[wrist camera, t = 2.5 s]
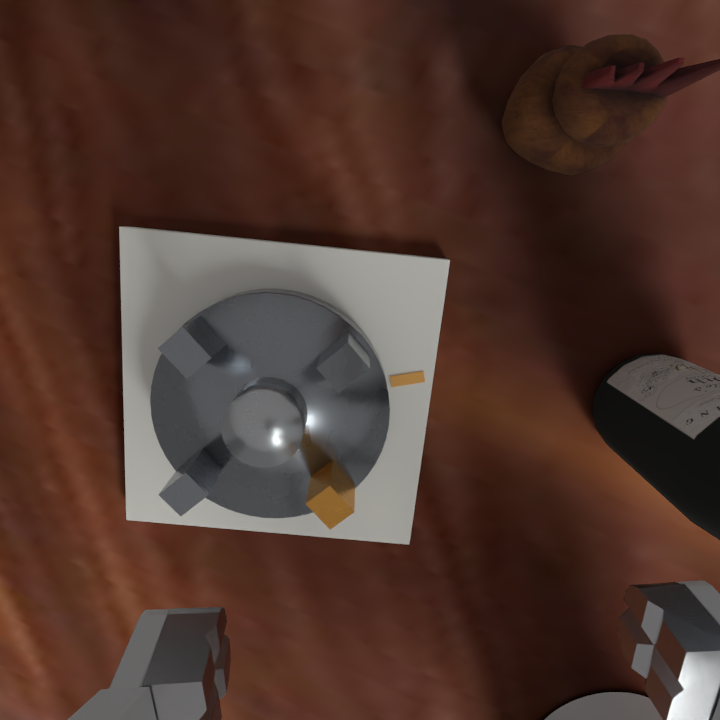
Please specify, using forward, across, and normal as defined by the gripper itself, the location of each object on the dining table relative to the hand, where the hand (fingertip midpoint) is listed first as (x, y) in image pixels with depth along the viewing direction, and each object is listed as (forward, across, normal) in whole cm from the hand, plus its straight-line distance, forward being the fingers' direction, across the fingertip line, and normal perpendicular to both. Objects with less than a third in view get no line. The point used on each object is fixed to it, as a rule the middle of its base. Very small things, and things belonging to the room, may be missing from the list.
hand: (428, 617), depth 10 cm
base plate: (+28, -6, -7) cm, 29 cm away
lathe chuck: (+26, -6, -7) cm, 27 cm away
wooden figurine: (+28, +12, +11) cm, 33 cm away
